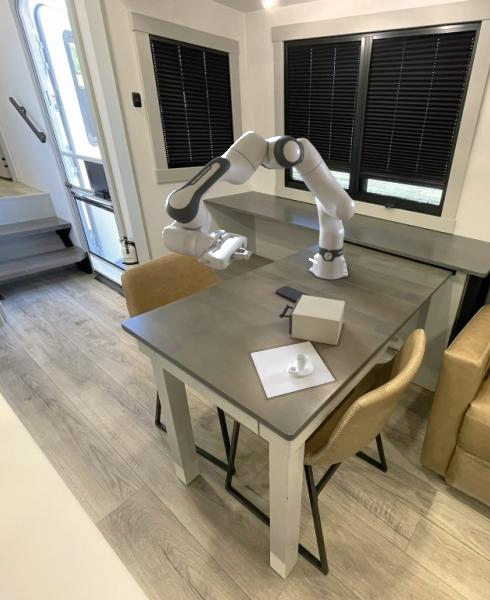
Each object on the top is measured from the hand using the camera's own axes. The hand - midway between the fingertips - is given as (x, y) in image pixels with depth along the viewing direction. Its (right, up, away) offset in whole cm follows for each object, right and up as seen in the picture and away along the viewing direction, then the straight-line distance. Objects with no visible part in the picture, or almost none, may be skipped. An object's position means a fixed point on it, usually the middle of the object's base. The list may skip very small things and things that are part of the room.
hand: (250, 255), depth 108 cm
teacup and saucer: (+14, -35, -9) cm, 39 cm away
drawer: (+19, -24, +8) cm, 31 cm away
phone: (+12, -13, +29) cm, 34 cm away
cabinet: (+22, -25, +8) cm, 35 cm away
